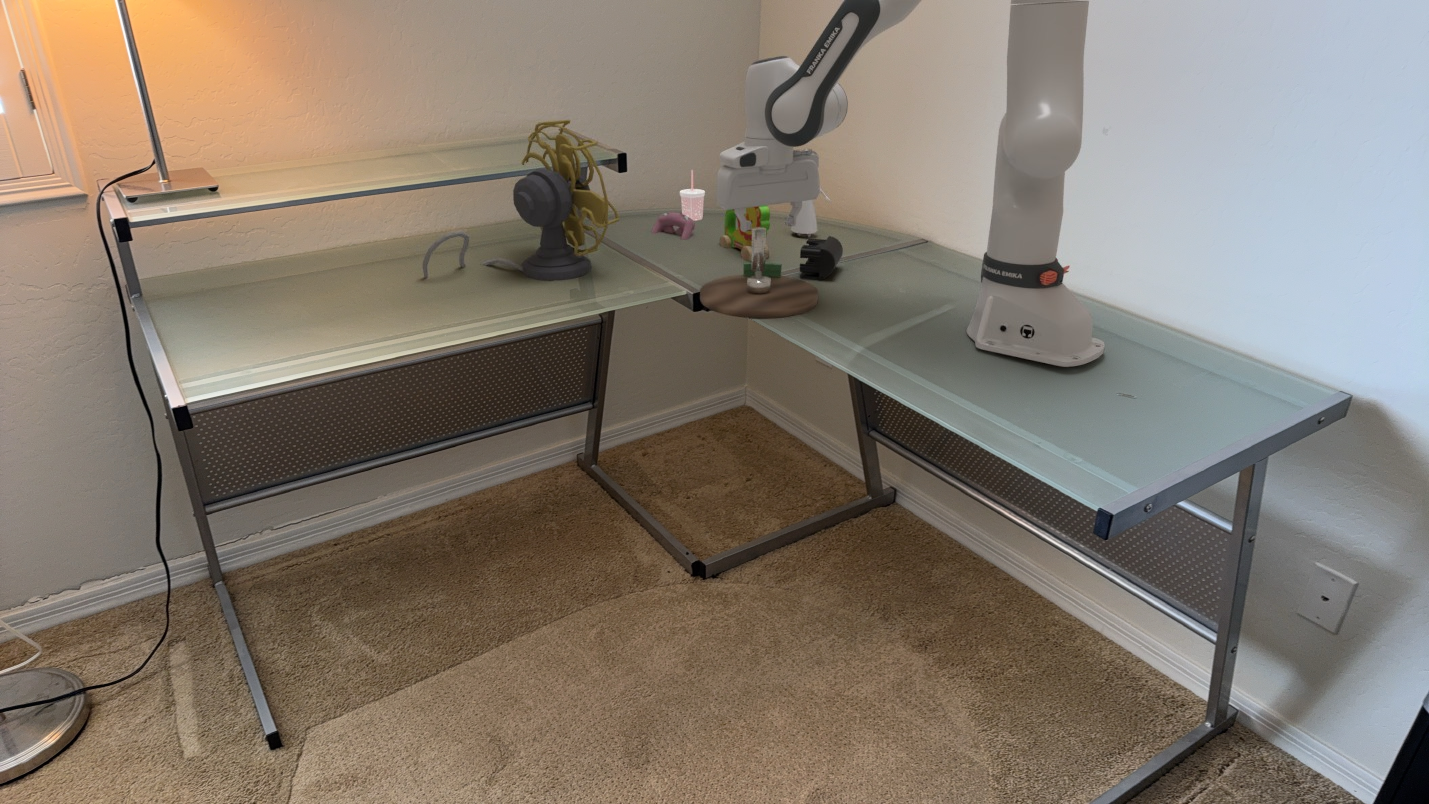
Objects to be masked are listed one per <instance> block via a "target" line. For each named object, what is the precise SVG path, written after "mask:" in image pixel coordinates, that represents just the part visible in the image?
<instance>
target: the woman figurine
mask: <svg viewBox="0 0 1429 804" xmlns="http://www.w3.org/2000/svg"><path fill="white" fill-rule="evenodd" d="M820 194H822V195H823V196H824V197H825V201H827V203H828V202H830V203H832V201H831V199H830V198H829V197H828V196H827V195H826V193H825V192H824V191H823V189H822V188H821V187H820ZM790 227H791V228H790V231H791V232H793V233H797V236H802V235H803V234H805V235H806V234H807V237H808V238H811V236H812V234H815V233H818V232H819V231H818V223H817V214H816V208H815V202H814V200H807V201H802V208H801V210H800V212H799V213H798V215H797V216H796V225H794V226H790Z"/></svg>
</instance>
